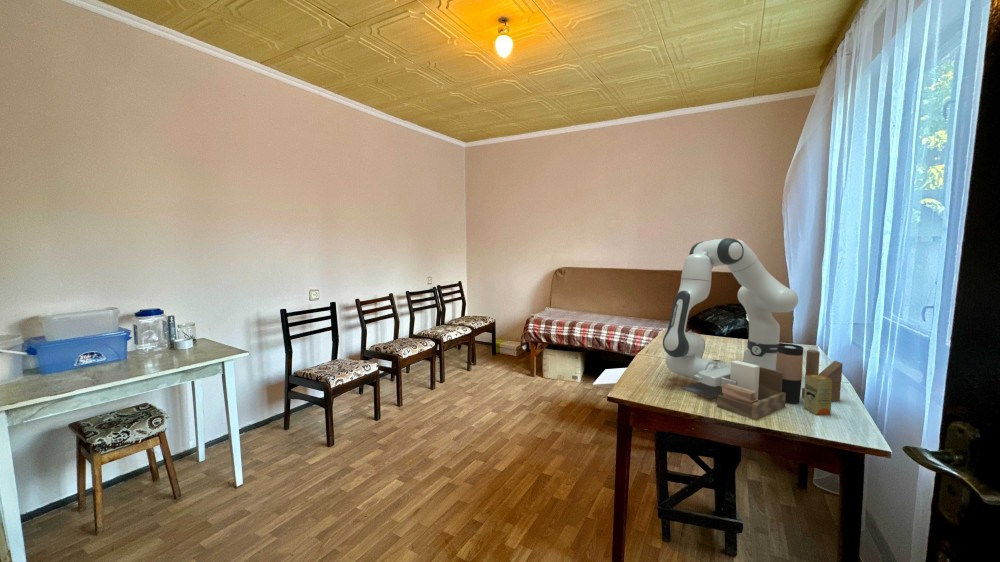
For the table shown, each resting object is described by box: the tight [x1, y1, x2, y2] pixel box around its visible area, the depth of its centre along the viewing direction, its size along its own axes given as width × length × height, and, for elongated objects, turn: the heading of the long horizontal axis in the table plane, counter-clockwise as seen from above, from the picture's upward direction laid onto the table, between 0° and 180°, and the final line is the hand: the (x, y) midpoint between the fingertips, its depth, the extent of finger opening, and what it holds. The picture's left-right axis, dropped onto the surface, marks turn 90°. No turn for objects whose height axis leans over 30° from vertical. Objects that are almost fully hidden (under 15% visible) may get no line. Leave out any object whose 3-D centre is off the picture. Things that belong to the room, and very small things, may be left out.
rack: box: [716, 367, 786, 421], centre depth 135 cm, size 20×12×12 cm, turn 121°
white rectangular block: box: [730, 360, 760, 401], centre depth 139 cm, size 4×8×14 cm, turn 31°
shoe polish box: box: [803, 375, 833, 416], centre depth 130 cm, size 5×5×12 cm
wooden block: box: [801, 349, 843, 402], centre depth 141 cm, size 4×11×18 cm, turn 85°
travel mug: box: [776, 343, 804, 405], centre depth 140 cm, size 8×8×20 cm
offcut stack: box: [721, 384, 759, 405], centre depth 132 cm, size 4×10×8 cm, turn 31°
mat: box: [681, 381, 723, 399], centre depth 151 cm, size 14×12×1 cm
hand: (743, 381), depth 139 cm, fingers open, 8 cm apart
